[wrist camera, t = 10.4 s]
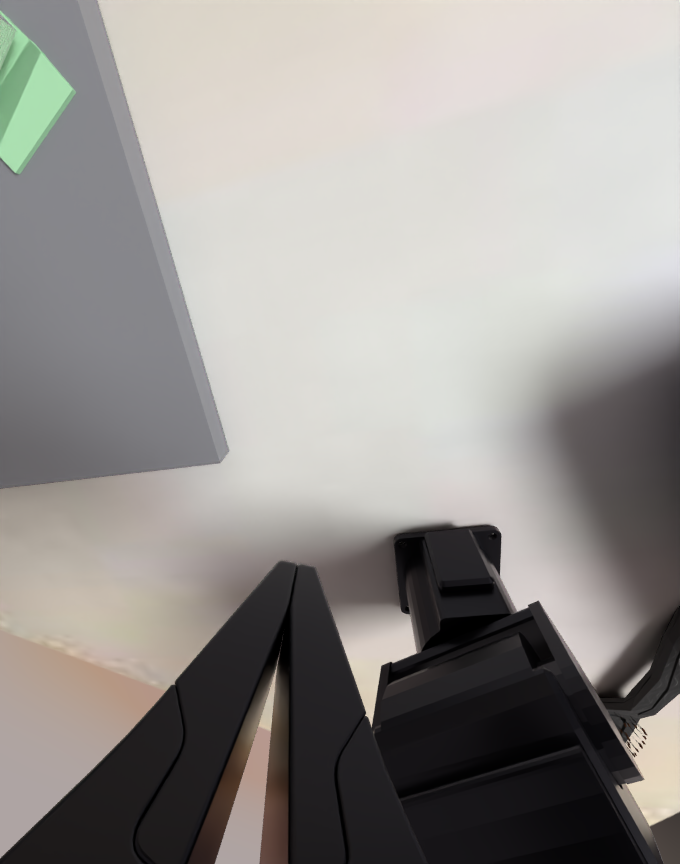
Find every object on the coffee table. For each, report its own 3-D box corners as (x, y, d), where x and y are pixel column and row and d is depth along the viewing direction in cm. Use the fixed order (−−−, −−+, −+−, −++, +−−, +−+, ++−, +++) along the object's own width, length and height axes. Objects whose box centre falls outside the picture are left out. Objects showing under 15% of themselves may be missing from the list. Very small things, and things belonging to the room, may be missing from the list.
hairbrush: (812, 641, 22) (592, 847, 30) (747, 594, 25) (567, 790, 33) (693, 607, 21) (502, 827, 29) (644, 564, 24) (486, 772, 33)
